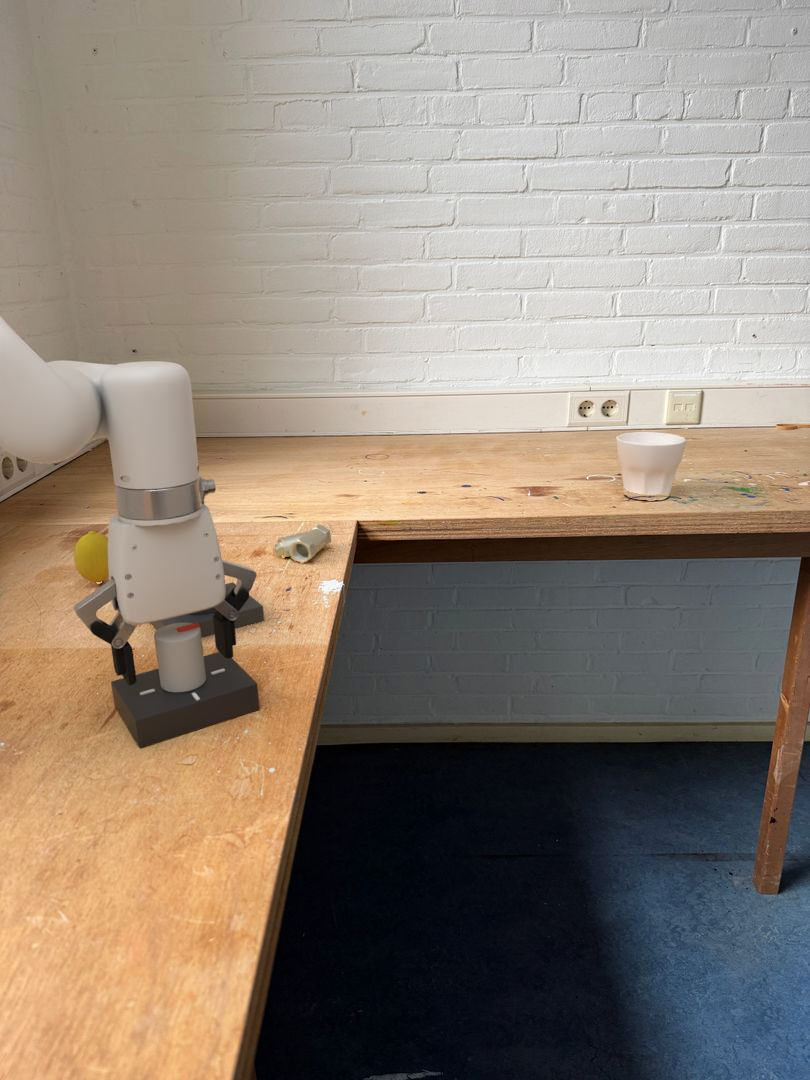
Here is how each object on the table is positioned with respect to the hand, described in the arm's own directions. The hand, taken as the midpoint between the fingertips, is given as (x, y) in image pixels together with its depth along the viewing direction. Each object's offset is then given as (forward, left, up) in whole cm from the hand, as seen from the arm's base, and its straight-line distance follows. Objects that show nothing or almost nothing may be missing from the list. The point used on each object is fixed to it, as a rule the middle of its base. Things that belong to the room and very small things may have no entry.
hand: (178, 665), depth 79 cm
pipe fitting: (+30, +35, -5) cm, 47 cm away
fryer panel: (0, 0, -5) cm, 5 cm away
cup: (+98, +26, -5) cm, 102 cm away
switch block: (+9, +20, -5) cm, 23 cm away
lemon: (+1, +41, -5) cm, 41 cm away
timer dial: (0, 0, -2) cm, 2 cm away
